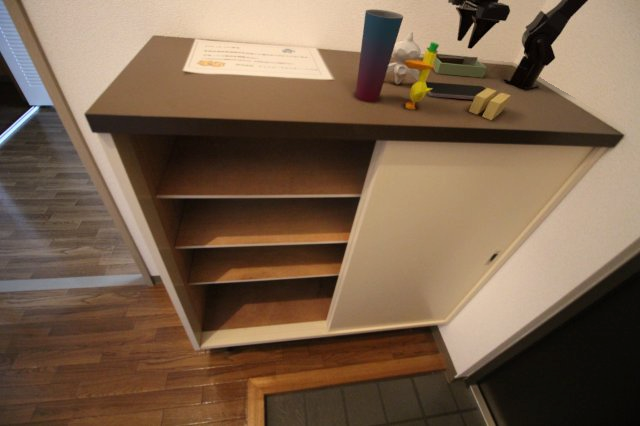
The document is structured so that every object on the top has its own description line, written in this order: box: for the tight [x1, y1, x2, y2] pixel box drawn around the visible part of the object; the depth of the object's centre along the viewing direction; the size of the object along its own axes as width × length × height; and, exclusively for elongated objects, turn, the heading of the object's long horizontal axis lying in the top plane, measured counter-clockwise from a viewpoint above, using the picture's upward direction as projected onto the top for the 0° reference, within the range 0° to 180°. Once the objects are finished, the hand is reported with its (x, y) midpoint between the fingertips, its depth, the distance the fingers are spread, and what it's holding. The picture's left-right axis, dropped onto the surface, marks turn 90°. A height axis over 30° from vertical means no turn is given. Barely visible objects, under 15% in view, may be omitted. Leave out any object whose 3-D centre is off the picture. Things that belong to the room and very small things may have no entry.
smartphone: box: [425, 81, 487, 101], centre depth 67 cm, size 7×1×15 cm
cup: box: [355, 8, 404, 103], centre depth 56 cm, size 7×7×15 cm
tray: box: [432, 53, 488, 79], centre depth 80 cm, size 13×9×3 cm
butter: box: [468, 87, 512, 121], centre depth 60 cm, size 7×5×4 cm
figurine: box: [386, 31, 422, 85], centre depth 65 cm, size 12×5×11 cm, turn 83°
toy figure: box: [404, 41, 440, 110], centre depth 55 cm, size 7×4×12 cm, turn 83°
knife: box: [437, 55, 479, 66], centre depth 79 cm, size 3×2×11 cm
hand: (464, 44), depth 76 cm, fingers open, 7 cm apart
